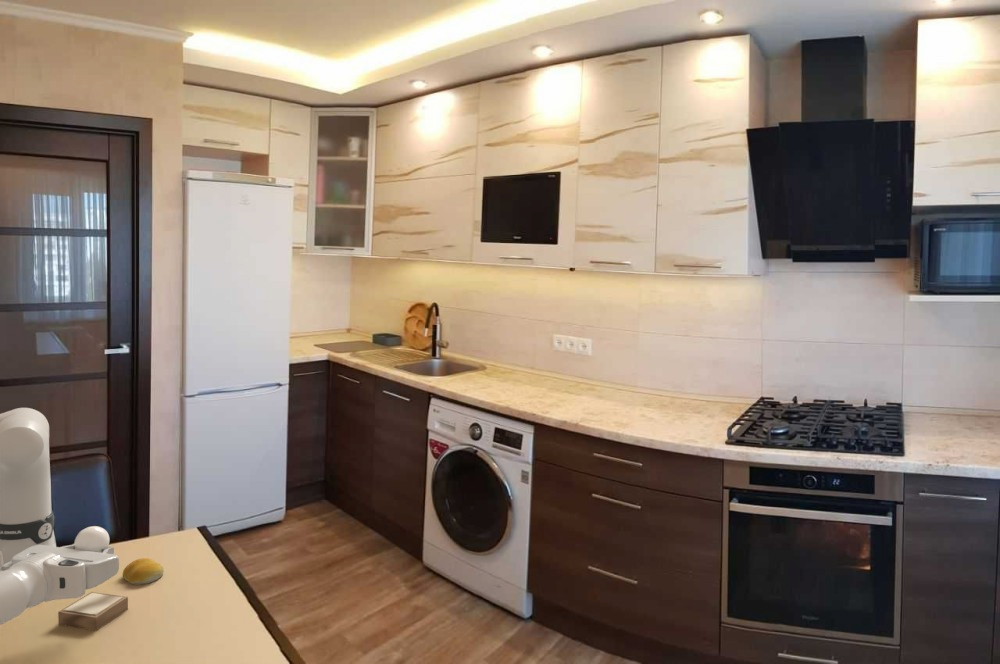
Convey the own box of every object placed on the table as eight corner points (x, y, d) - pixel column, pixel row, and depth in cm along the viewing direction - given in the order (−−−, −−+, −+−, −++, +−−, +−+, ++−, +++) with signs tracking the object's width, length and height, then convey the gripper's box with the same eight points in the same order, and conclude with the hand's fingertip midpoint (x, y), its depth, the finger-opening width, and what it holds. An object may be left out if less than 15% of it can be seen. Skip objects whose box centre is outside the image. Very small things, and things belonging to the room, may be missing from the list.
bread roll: (135, 589, 159) (135, 572, 159) (118, 577, 165) (117, 561, 164) (170, 577, 166) (170, 561, 165) (153, 566, 171) (152, 550, 171)
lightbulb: (67, 579, 144) (67, 528, 143) (97, 568, 149) (98, 519, 148) (85, 587, 141) (86, 535, 140) (115, 576, 146) (116, 526, 145)
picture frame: (58, 624, 143) (58, 610, 142) (91, 604, 151) (91, 591, 151) (96, 630, 141) (96, 616, 141) (127, 609, 150) (127, 596, 150)
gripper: (-5, 585, 134) (53, 557, 148) (86, 599, 130) (138, 568, 144) (-6, 554, 134) (53, 528, 147) (86, 567, 130) (137, 539, 143)
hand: (95, 548), depth 145 cm, fingers closed on lightbulb, 6 cm apart
